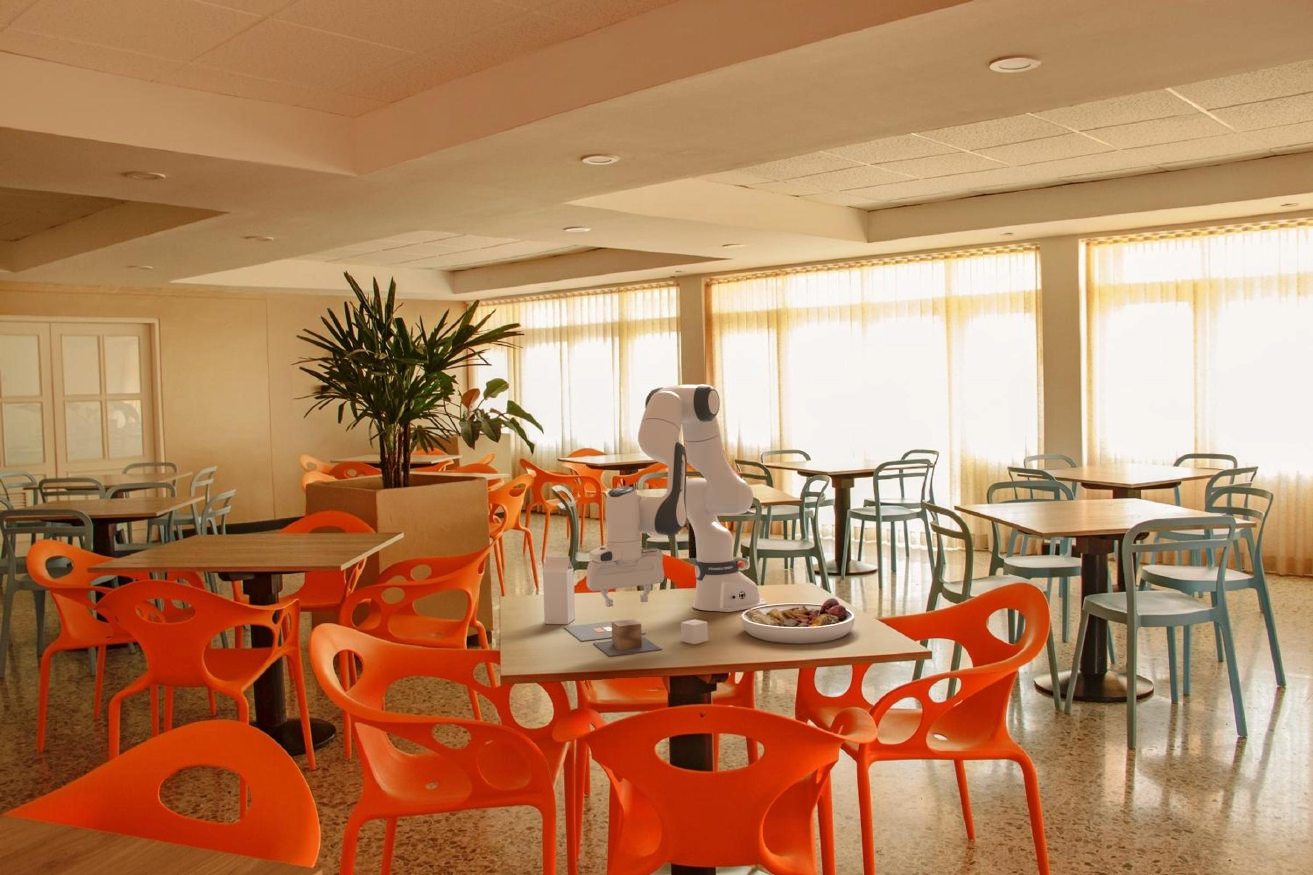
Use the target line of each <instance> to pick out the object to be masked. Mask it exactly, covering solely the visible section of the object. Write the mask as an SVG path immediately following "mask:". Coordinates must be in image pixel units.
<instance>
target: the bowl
mask: <svg viewBox="0 0 1313 875" xmlns="http://www.w3.org/2000/svg"><path fill="white" fill-rule="evenodd" d="M855 619H856V618H855V613H854V612H852V610H849V609H846V606H844V605H842V604H840V603H839V601H838V600H837V599H836V598H833V597H832V598H828V599H826V600H825V601H824V602H823V604H820V603H803V602H802V603H798V602H797V603H794V602H793V603H792V602H791V603H790V602H789V603H775V604H767V605H766V606H760V607H755V608H750V609H746V610H745V611H743V612H742V613H741V615H740V621H741V625H742V628H743V629H744V631H745V632H747V633H748V634H749V635H750V636H752V637H754V638H757V639H759V640H760V641H761V640H762V641H765V642H766V641H767V642H771V643H779V644H790V645H791V644H795V645H796V644H797V645H801V644H803V645H804V644H817V643H819V644H820V643H826V642H831V641H835V640H838V639H840V638H843V637H845V636H846V635H848V634H849V633H850V632H851V631H852V629H853V627H854V625H855Z"/></svg>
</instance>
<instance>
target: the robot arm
mask: <svg viewBox="0 0 1313 875" xmlns="http://www.w3.org/2000/svg"><path fill="white" fill-rule="evenodd" d="M720 401H721V400H720V396H719V393H718V392H717V390H716V389H715V388H714V387H713V386H712V385H709V384H706V383H705V384H702V383H700V384H679V385H672V386H667V387H663V386H662V387H657V388H655V389H652V390H651V391H650V392H649V393H648V395H647V396H646V398H645V404H644V405H645V406H644V407H645V410H644V412H643V415H642V419H641V422H640V425H639V430H638V434H637V442H638V445H639V447H640V450H641V451H642V452H643V453H644V454H645V455H646V456H648V457H649V458H650V459H652V460H653V461H656V462H658V463H662V465H665V466H666V467H667V481H666V482H667V484H666V492H665V494H664V495H662V496H642V495H639V494H638V493H637V490H636V488H635V487H634V486H627V485H625V486H620V487H614V488H612V489H610V490H609V491H608V492H607V495H606V498H605V499H606V500H605V525H606V529H607V535H606V543H605V544H604V545H602V546H598V547H597V548H594V549H592V550H590V551H589V553H588V554H589V559H590V561H589V562H588V564H587V569H586V587H587V588H588V589H589V590H590V591H592V592H598V591H600V594H601V595H602V597H603V598H604V599H605V606H606V608H609V607H614V599H612V597H611V598H609V597H608V594H609V590H613V589H624V588H631V587H632V588H633V587H640V586H643V588H645V589H644V590H643V593H642V594H640V595H639V597H640V602H641V603H647V602H649V597H648V596H649V594H650V592H651V590H652V585H657V584H662V583H663V582H664V580H665V572H664V566H663V560H664V553H663V551H662V550H661V549H659V548H658V547H651V548H649V547H648V548H642V535H641V534H653V535H654V534H656V535H662V536H669V537H674V536H676V535H677V534H679V532H680V531H681V530H683V528H684V527H685V525H686V524H687V520H688V521H689V523H690V525H691V528H692V530H693V532H694V537H695V548H696V560H695V565H694V568H695V569H694V570H695V571H694V573H695V578H696V585H695V595H694V599H693V600H694V601H693V604H692V607H693V608H694V609H695V610H696V609H697V610H698V611H699V610H701V611H707V612H708V611H709V612H723V613H731V612H736V611H742V610H749V609H752V608H756V607H760V606H766V605H768V602H767V600H766V599H765V598H763V597H760V592H759V589H758V586H757V584H756V583H755V582H754V581H753V580H752V579H751V578H749V577H748V576H747V575H745V574H744V573H743V572H741V571H740V569H744V568H745V566H746V563H745V561H742V560H737V559H735V558H734V545H733V541H734V540H733V535H732V533H731V531H730V530H729V529H728V528H726V527H725V526H724V525H722V524H721V523H720V520H719V518H718V516H720V515H721V516H736V515H741V514H745V513H747V512H748V511H750V509H751V507H752V505H753V503H754V492H753V489H752V486H751V485H750V484H749V482H747V481H745V480H744V479H742V478H741V477H740V476H739V475H738V474H737V473H736V472H735V470H734V469H733V468H732V466H731V465H730V462H729V461H728V459H727V456H726V453H725V449H724V446H723V441H722V434H721V430H720V426H719V422H718V419H717V415H718V413H719V410H720V404H721V402H720ZM681 431H682V437H683V442H684V445H683V444H682V443H680V434H681ZM688 464H689V465H690V467H691V468H693V469H694V470H695V471H697V472H699V473H700V474H701V475H702V476H703V477H693V478H687V473H688V472H687V470H688V469H687V467H688ZM739 568H740V569H739Z"/></svg>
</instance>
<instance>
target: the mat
mask: <svg viewBox="0 0 1313 875" xmlns="http://www.w3.org/2000/svg"><path fill="white" fill-rule="evenodd" d="M592 644H593V646H594V647H596V648H597V649H599V650H600V651H601V652H603V653H604V654H605V655H607V656H608V657H616V656H617V657H618V656H624V655H632V654H641V653H648V652H656V651H657V652H658V651H662V650H663V648H661V647H660V646H658V645H657V644H655V643H654V642H652V641H650V640H649V639H647V638H646V637H645V636H642V647H638V648H630V649H622V650H619V649H618V648H616V647H615V646H614V645H612V640H607V641H600V642H599V641H598V642H592Z"/></svg>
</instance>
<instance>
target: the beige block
mask: <svg viewBox="0 0 1313 875" xmlns="http://www.w3.org/2000/svg"><path fill="white" fill-rule="evenodd" d="M708 625H709V622H708V621H704V620H700V619H699V620H698V619H695V618H694V619H690V620H689V619H688V620H686V621H681V622H680V641H681V642H683V643H688V644H691V645H697V644H700V643H704V642H705V643H706V642H708V641H709V628H708V627H709V626H708Z"/></svg>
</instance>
